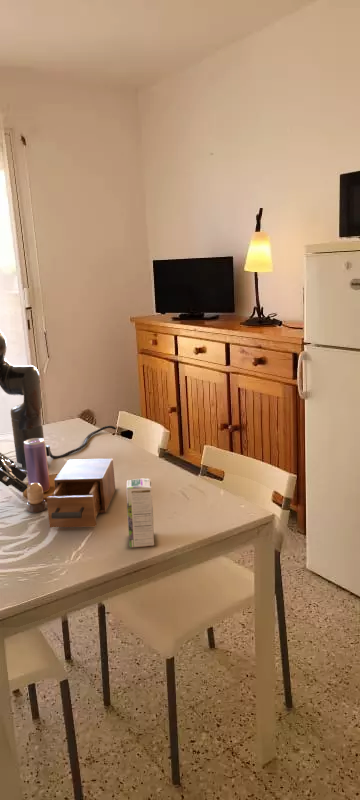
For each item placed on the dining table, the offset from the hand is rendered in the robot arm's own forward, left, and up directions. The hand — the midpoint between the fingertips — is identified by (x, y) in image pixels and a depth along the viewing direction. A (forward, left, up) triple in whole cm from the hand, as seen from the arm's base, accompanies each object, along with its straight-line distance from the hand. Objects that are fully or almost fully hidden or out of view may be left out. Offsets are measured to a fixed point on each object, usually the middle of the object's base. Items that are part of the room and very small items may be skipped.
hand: (25, 483), depth 162 cm
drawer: (+8, +15, -7) cm, 18 cm away
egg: (-1, +2, -8) cm, 8 cm away
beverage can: (-14, -1, -8) cm, 16 cm away
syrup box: (+19, +33, -8) cm, 39 cm away
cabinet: (-5, +15, -8) cm, 18 cm away
